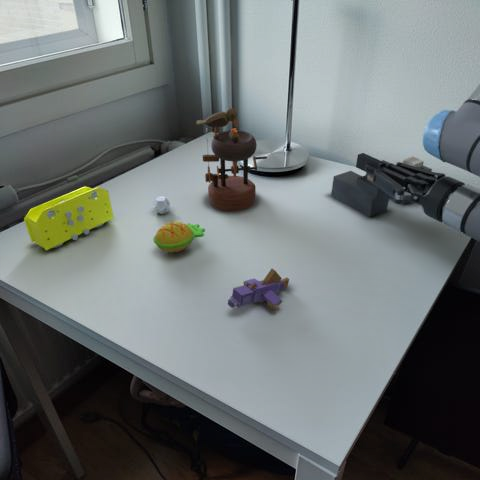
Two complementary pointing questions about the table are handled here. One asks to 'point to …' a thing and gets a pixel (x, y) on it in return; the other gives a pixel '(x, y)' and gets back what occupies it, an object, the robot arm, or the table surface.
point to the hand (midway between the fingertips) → (359, 160)
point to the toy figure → (259, 291)
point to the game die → (161, 205)
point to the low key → (414, 162)
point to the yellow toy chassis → (68, 216)
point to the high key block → (359, 193)
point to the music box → (232, 149)
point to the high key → (370, 178)
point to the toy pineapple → (177, 236)
